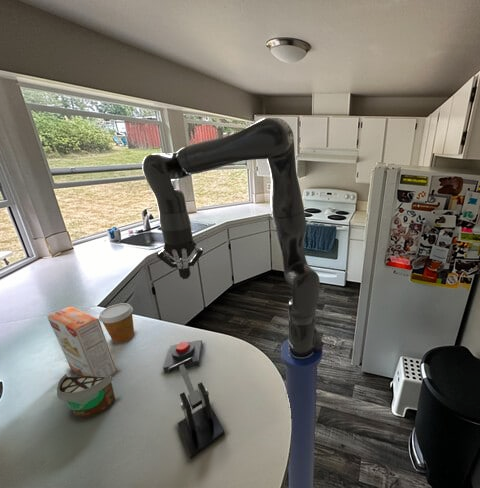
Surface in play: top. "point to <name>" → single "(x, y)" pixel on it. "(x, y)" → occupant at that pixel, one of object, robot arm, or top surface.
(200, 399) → the lever
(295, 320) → the robot arm
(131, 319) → the orange tub white lid
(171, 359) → the button box
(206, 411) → the bracket
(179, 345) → the button
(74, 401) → the food container
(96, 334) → the cracker box
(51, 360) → the top surface
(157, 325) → the top surface
